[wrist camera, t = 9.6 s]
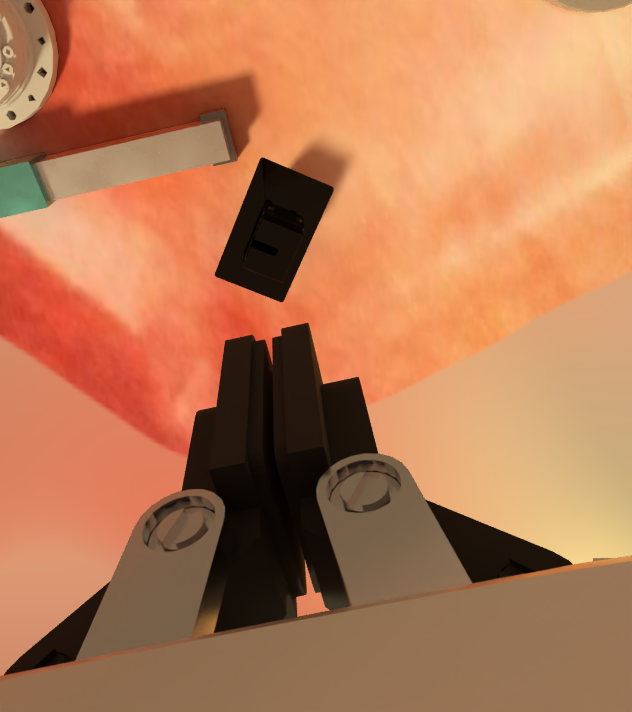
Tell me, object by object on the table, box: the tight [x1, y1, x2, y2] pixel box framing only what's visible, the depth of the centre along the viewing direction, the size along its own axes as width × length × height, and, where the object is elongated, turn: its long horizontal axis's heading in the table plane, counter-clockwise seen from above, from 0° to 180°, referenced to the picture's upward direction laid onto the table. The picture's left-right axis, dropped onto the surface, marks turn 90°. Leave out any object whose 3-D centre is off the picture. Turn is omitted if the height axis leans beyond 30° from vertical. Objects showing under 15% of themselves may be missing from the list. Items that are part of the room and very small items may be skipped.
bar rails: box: [0, 108, 238, 218], centre depth 35 cm, size 19×18×3 cm
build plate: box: [215, 158, 334, 302], centre depth 42 cm, size 12×7×5 cm, turn 156°
